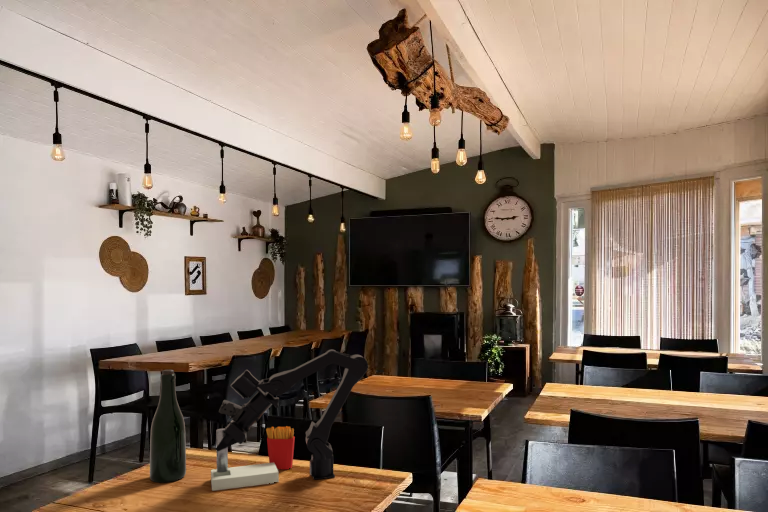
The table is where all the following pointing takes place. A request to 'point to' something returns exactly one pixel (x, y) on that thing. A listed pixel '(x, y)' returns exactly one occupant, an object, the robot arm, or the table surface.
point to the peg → (221, 452)
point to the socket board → (244, 476)
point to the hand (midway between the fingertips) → (217, 448)
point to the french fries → (281, 446)
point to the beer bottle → (167, 435)
